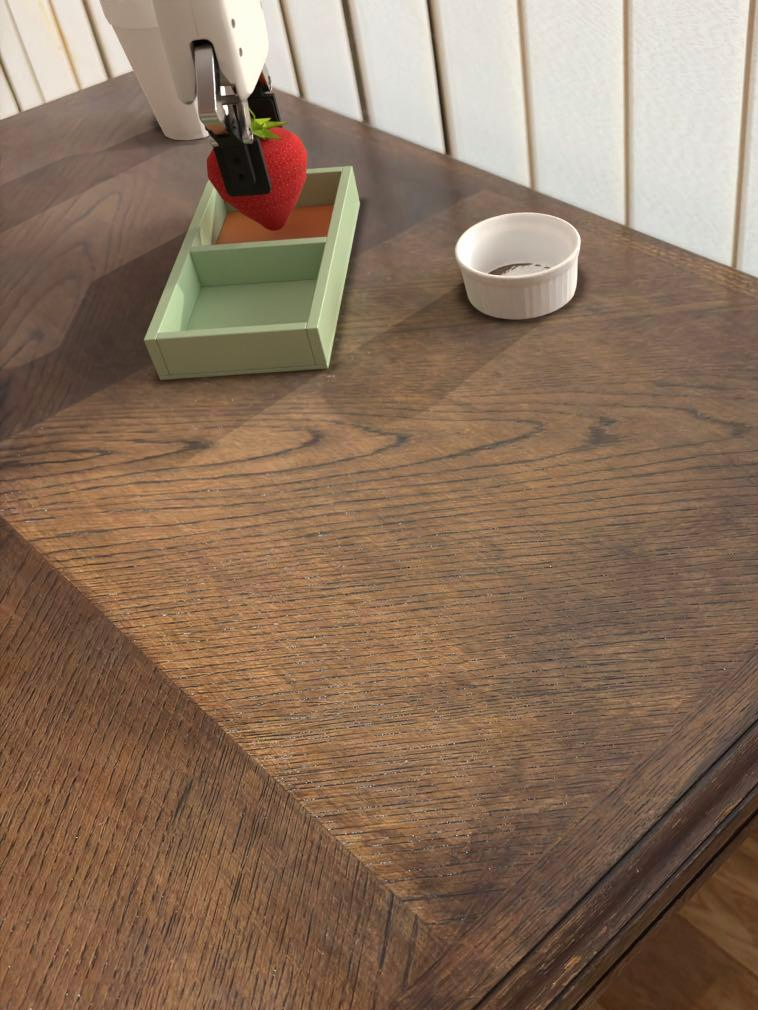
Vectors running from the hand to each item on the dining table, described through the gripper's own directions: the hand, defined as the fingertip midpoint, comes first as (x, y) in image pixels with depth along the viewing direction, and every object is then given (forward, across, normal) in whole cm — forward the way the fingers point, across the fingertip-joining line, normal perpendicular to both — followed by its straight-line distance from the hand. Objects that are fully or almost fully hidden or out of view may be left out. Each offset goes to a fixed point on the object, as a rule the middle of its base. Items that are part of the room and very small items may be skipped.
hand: (257, 167), depth 79 cm
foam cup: (+7, -25, -12) cm, 28 cm away
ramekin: (+7, +8, +19) cm, 22 cm away
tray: (+7, +5, 0) cm, 9 cm away
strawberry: (+5, 0, 0) cm, 5 cm away
